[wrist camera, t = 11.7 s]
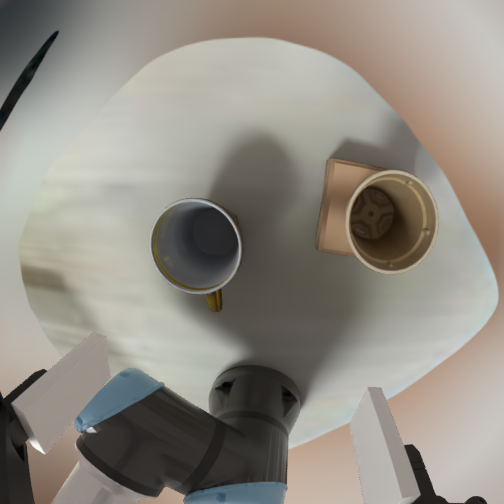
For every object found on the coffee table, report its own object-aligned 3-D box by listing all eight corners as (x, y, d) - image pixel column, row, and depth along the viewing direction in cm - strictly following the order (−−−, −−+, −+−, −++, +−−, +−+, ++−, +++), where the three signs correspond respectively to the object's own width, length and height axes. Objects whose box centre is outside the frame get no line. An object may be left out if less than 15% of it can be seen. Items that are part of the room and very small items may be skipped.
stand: (391, 256, 36) (402, 264, 32) (314, 244, 37) (318, 251, 33) (405, 176, 34) (417, 176, 30) (326, 160, 35) (331, 157, 31)
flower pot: (335, 167, 31) (351, 161, 23) (409, 179, 30) (444, 179, 22) (326, 247, 33) (338, 269, 25) (399, 255, 32) (429, 277, 24)
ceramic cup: (173, 204, 38) (138, 212, 29) (243, 185, 37) (228, 186, 27) (198, 293, 41) (173, 325, 31) (267, 280, 39) (260, 312, 30)
